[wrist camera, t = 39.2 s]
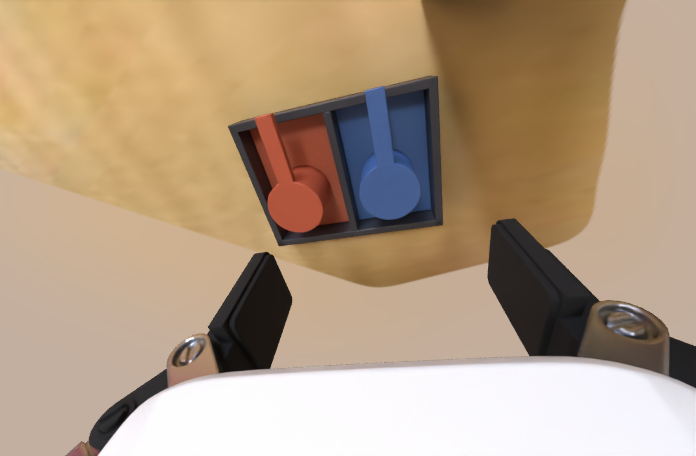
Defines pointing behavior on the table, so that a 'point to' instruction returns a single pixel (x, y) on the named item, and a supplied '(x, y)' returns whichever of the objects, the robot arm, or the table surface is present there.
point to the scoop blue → (386, 167)
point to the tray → (351, 157)
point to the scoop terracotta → (292, 184)
